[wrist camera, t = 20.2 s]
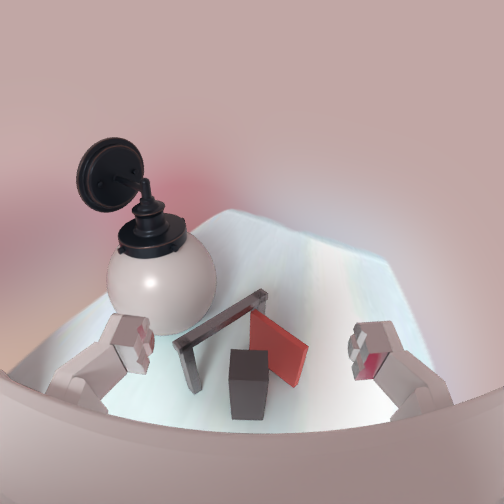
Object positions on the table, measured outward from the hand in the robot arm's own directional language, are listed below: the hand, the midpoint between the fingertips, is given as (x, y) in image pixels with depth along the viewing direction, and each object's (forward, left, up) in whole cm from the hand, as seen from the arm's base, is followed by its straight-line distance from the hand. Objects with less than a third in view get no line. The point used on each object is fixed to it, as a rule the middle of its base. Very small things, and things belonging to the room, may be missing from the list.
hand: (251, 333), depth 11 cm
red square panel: (-6, +19, -31) cm, 37 cm away
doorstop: (-6, +10, -32) cm, 34 cm away
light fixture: (-31, +19, -32) cm, 48 cm away
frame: (-13, +15, -32) cm, 38 cm away
